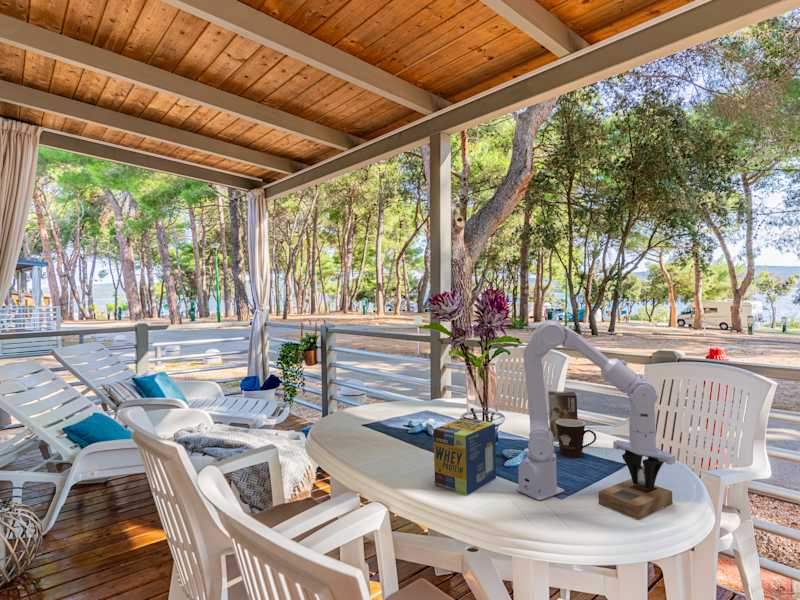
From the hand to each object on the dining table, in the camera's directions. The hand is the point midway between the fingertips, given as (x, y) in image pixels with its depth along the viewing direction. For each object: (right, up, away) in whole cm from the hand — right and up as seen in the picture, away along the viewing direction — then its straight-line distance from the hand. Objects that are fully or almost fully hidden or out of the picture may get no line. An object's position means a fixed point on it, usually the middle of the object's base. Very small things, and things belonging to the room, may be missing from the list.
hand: (643, 485), depth 117 cm
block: (-3, -4, -2) cm, 5 cm away
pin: (0, -2, 0) cm, 2 cm away
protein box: (-41, -5, +14) cm, 44 cm away
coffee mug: (-5, -4, +32) cm, 33 cm away
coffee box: (-3, -3, +49) cm, 49 cm away
